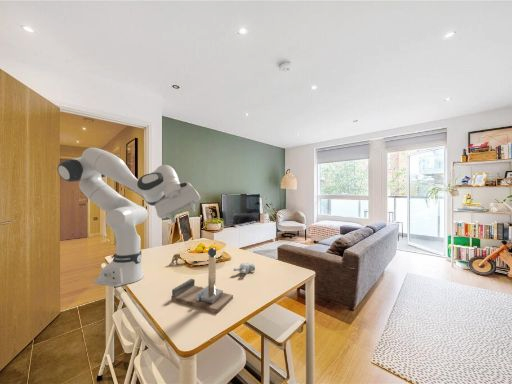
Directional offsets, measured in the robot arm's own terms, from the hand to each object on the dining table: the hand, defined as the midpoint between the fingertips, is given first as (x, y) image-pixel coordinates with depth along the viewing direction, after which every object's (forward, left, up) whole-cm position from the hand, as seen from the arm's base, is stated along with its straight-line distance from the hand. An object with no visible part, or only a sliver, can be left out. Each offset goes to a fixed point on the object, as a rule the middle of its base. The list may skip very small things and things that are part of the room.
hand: (184, 216), depth 90 cm
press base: (+9, -2, -36) cm, 37 cm away
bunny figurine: (+26, +29, -36) cm, 53 cm away
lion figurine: (-17, +42, -36) cm, 58 cm away
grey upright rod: (+13, -3, -34) cm, 37 cm away
